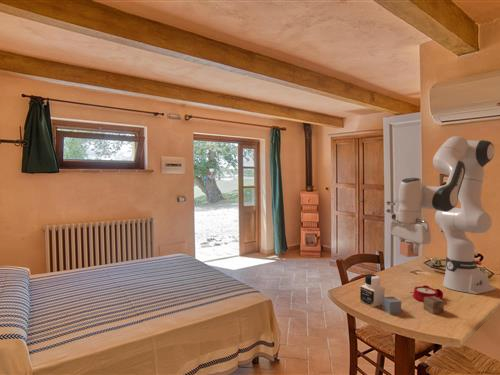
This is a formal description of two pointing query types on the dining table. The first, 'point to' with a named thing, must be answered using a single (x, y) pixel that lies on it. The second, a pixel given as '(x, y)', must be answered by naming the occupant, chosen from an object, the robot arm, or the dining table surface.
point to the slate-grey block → (391, 305)
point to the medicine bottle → (372, 291)
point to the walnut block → (433, 305)
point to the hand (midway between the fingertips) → (409, 250)
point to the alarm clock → (426, 292)
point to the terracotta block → (407, 249)
